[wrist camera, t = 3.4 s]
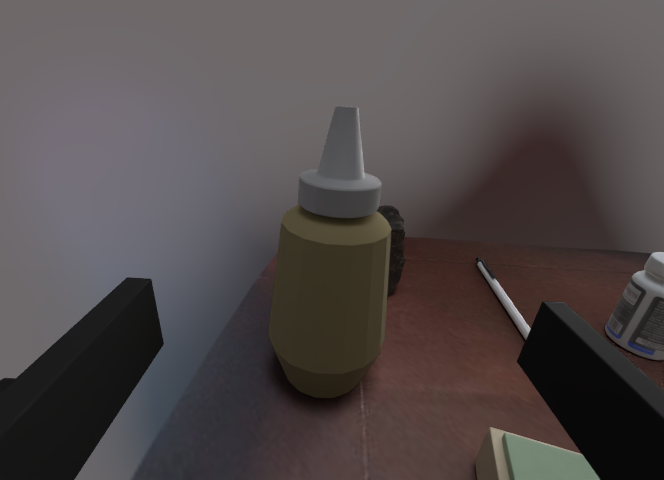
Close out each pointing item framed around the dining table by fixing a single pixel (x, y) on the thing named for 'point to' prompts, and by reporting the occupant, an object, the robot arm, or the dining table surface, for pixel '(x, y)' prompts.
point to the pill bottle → (641, 312)
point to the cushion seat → (528, 460)
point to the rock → (394, 245)
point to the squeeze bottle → (332, 270)
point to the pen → (504, 298)
